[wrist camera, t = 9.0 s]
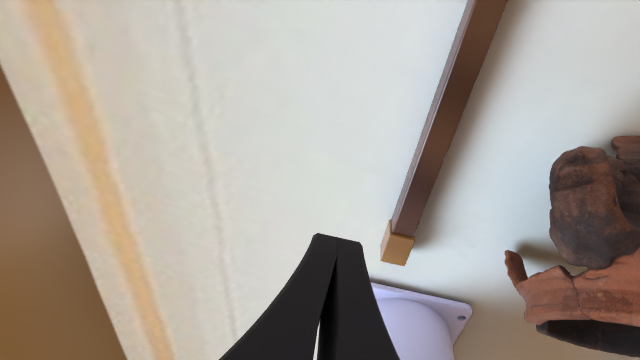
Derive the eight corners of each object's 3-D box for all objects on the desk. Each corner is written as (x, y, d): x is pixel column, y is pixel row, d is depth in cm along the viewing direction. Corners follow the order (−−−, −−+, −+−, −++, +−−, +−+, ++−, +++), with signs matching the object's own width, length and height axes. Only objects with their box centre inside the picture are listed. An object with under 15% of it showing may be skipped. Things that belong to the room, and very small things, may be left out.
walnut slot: (675, 309, 22) (691, 330, 21) (380, 244, 23) (380, 261, 21) (1127, -116, 11) (1213, -123, 10) (542, -225, 12) (560, -243, 11)
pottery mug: (755, 200, 18) (807, 386, 15) (546, 222, 26) (547, 351, 22) (688, 40, 13) (747, 280, 9) (443, 127, 20) (421, 281, 16)
